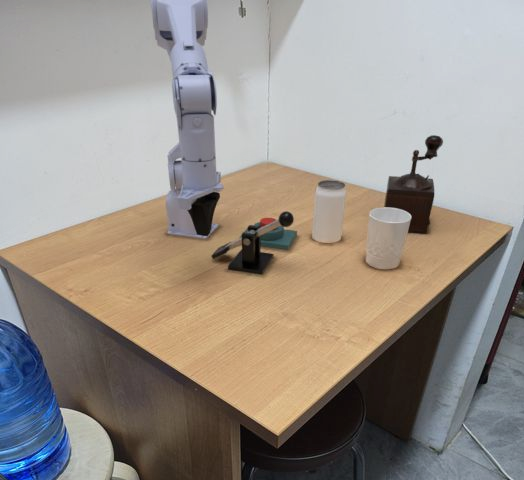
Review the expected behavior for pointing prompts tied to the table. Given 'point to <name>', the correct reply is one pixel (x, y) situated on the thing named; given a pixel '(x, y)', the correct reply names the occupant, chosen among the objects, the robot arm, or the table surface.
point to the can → (329, 211)
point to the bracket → (251, 255)
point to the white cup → (386, 237)
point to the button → (267, 222)
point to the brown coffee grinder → (414, 190)
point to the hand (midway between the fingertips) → (203, 234)
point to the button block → (277, 238)
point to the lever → (257, 233)
